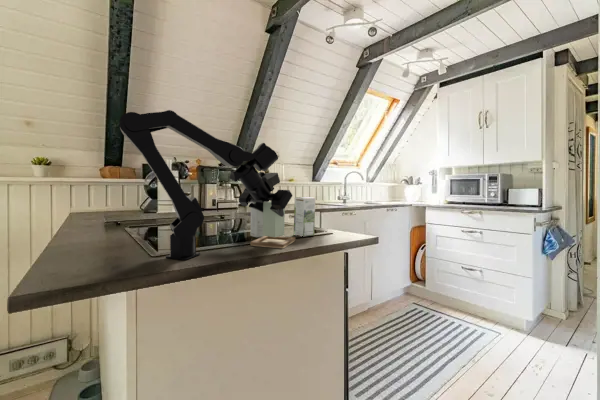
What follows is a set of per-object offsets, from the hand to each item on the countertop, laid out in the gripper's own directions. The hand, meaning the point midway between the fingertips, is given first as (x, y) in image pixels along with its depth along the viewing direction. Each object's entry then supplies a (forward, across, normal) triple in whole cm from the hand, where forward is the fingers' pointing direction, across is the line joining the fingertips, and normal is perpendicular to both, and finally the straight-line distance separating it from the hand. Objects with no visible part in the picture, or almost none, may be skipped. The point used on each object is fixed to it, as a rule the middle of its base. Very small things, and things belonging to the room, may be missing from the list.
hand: (276, 215), depth 99 cm
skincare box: (+10, +12, +3) cm, 16 cm away
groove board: (+6, 0, +7) cm, 9 cm away
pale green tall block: (+4, 0, +6) cm, 7 cm away
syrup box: (+18, +1, -5) cm, 19 cm away
